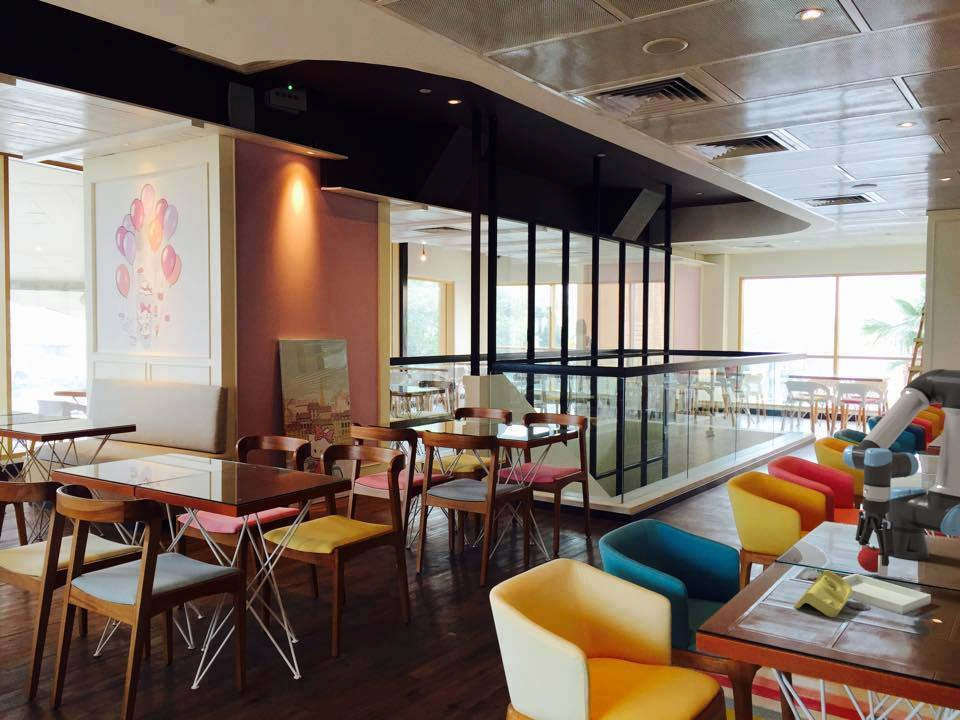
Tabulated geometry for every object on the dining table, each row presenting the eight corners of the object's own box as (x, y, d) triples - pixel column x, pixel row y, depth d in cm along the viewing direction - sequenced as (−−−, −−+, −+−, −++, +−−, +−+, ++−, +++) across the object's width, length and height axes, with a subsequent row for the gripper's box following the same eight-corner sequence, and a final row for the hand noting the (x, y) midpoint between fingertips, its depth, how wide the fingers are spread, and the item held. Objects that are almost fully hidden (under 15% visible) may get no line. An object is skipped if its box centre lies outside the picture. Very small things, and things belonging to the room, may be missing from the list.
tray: (855, 581, 241) (855, 573, 241) (930, 603, 224) (931, 594, 224) (826, 590, 232) (826, 582, 232) (902, 614, 214) (902, 605, 214)
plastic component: (839, 612, 209) (804, 588, 214) (825, 633, 212) (791, 609, 217) (855, 587, 225) (822, 566, 230) (843, 606, 227) (810, 585, 232)
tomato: (854, 572, 244) (855, 546, 244) (859, 564, 251) (860, 540, 251) (886, 577, 239) (887, 551, 239) (890, 570, 246) (891, 545, 246)
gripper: (845, 491, 254) (842, 560, 256) (886, 507, 233) (883, 582, 234) (866, 490, 255) (863, 559, 256) (910, 507, 234) (906, 581, 235)
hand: (873, 570), depth 245 cm, fingers closed on tomato, 9 cm apart
